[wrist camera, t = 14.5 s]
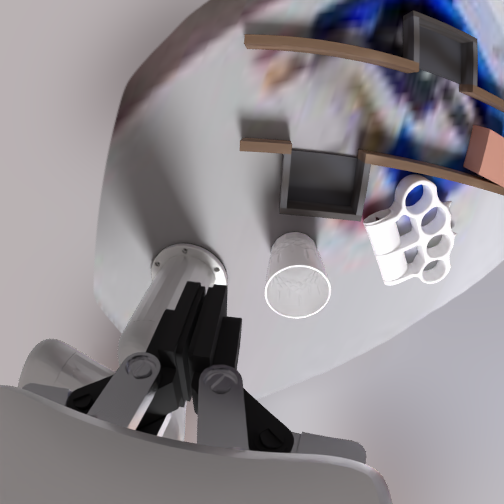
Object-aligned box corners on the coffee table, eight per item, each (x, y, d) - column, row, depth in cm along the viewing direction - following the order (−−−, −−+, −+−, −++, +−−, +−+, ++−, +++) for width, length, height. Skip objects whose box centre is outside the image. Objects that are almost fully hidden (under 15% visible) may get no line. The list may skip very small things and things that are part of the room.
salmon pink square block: (490, 179, 33) (506, 188, 29) (462, 166, 33) (478, 174, 29) (500, 141, 30) (517, 147, 26) (472, 124, 30) (490, 129, 26)
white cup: (268, 226, 41) (265, 263, 32) (323, 229, 40) (335, 266, 31) (266, 273, 45) (263, 317, 36) (317, 275, 44) (325, 319, 35)
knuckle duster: (352, 198, 38) (437, 161, 34) (385, 291, 45) (456, 257, 41) (358, 207, 35) (448, 166, 31) (391, 304, 42) (465, 268, 38)
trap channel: (486, 230, 37) (505, 247, 32) (241, 201, 39) (235, 218, 34) (512, 68, 23) (535, 70, 18) (250, -8, 25) (245, -26, 20)
